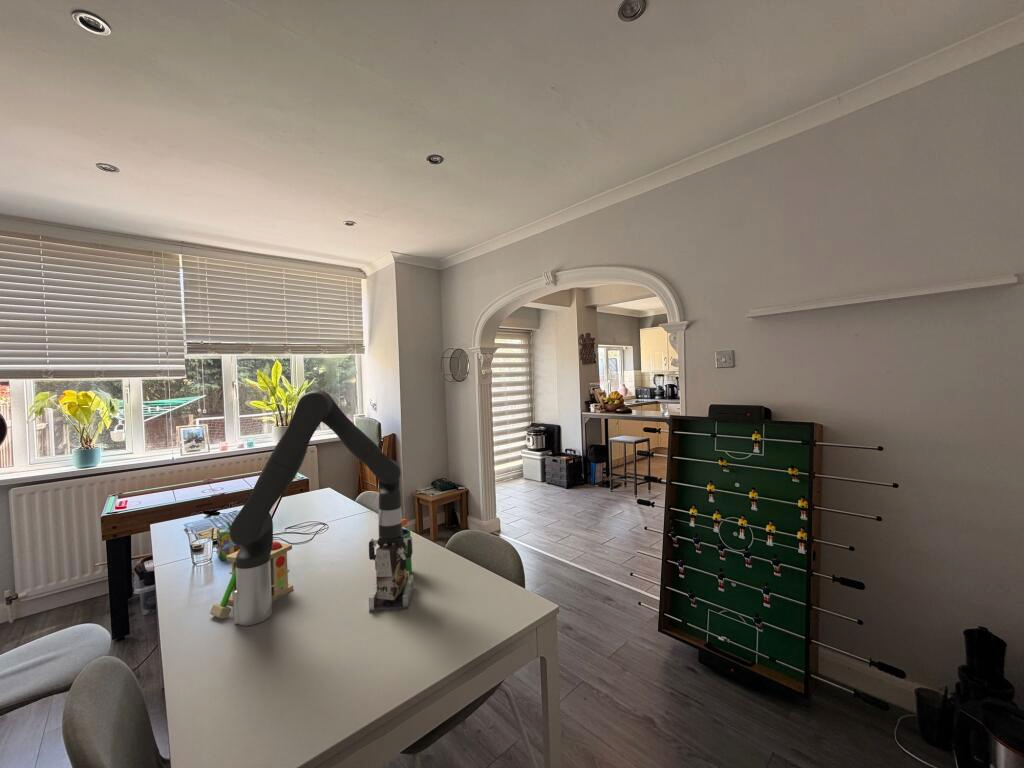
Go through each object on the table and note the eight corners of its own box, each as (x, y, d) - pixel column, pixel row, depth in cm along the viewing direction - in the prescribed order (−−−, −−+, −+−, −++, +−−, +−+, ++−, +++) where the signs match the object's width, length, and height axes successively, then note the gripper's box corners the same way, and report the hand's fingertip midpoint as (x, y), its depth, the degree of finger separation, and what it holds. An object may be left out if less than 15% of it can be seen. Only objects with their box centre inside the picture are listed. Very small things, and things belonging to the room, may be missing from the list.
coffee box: (394, 600, 134) (393, 550, 134) (376, 599, 136) (374, 549, 136) (407, 587, 143) (406, 539, 143) (389, 585, 145) (388, 538, 145)
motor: (380, 576, 157) (379, 522, 157) (397, 566, 165) (396, 515, 165) (401, 581, 152) (399, 526, 152) (417, 571, 160) (416, 519, 160)
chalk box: (246, 555, 180) (245, 520, 180) (221, 561, 174) (220, 526, 174) (241, 549, 187) (240, 515, 187) (217, 555, 180) (215, 521, 180)
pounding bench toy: (232, 625, 127) (230, 566, 127) (199, 617, 132) (197, 560, 132) (294, 589, 149) (292, 538, 149) (264, 583, 154) (262, 534, 154)
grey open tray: (369, 612, 132) (368, 593, 132) (378, 590, 146) (378, 573, 146) (407, 609, 133) (407, 590, 133) (413, 587, 147) (413, 570, 147)
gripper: (365, 526, 135) (366, 577, 135) (410, 523, 136) (411, 574, 136) (370, 518, 142) (371, 567, 142) (413, 516, 144) (414, 564, 144)
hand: (391, 570), depth 139 cm, fingers closed on coffee box, 7 cm apart
